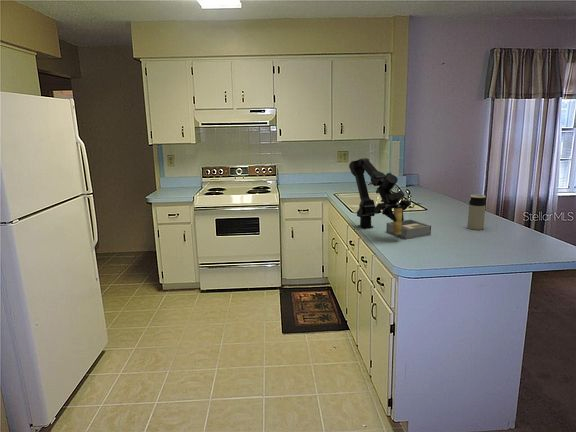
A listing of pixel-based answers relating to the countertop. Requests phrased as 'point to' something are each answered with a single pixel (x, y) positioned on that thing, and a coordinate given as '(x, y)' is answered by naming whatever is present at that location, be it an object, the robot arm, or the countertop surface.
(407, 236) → the bore box
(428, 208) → the countertop surface
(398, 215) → the peg
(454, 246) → the countertop surface
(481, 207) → the travel mug
